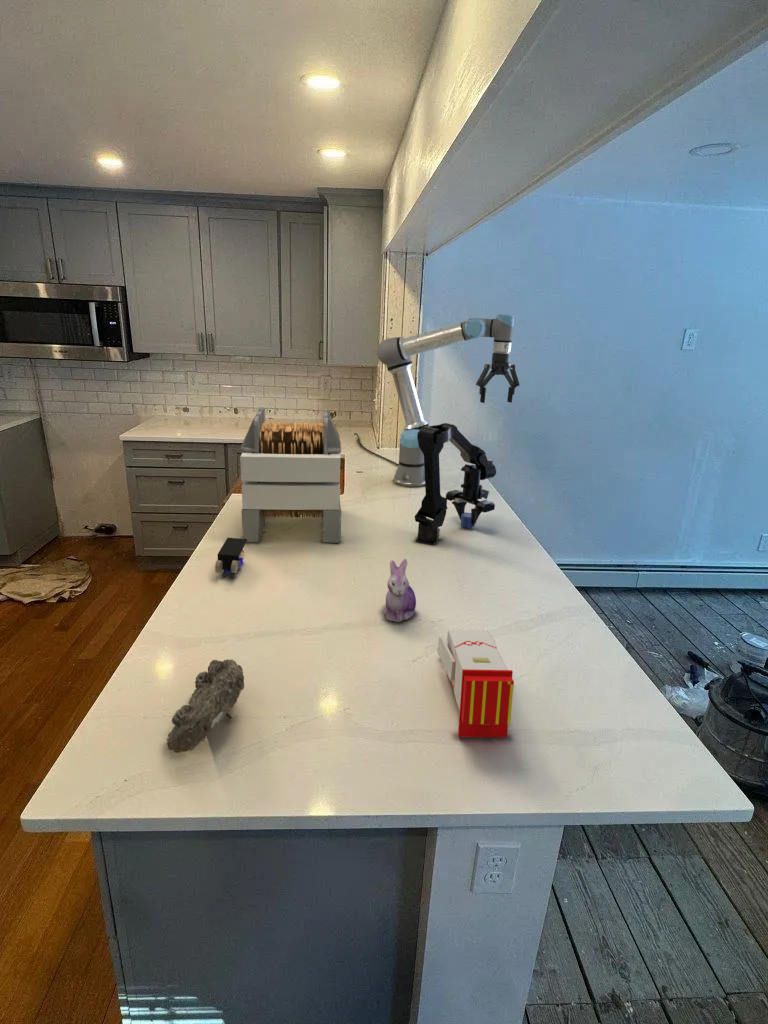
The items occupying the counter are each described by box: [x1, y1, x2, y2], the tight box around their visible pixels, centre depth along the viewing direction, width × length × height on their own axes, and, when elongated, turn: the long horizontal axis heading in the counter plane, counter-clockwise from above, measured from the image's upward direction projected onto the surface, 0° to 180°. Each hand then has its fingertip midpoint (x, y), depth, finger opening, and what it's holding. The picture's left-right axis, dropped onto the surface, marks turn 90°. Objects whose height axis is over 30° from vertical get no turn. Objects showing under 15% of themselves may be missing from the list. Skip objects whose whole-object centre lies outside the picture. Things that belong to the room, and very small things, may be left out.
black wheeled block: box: [214, 537, 248, 578], centre depth 166 cm, size 7×8×15 cm
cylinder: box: [460, 512, 475, 529], centre depth 208 cm, size 5×5×4 cm
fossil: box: [166, 658, 245, 754], centre depth 106 cm, size 22×10×15 cm
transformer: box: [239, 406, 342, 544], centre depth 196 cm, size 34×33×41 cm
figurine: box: [384, 558, 417, 623], centre depth 145 cm, size 9×10×15 cm
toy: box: [437, 628, 515, 738], centre depth 117 cm, size 12×13×30 cm
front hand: (467, 522), depth 208 cm, fingers closed on cylinder, 5 cm apart
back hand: (495, 402), depth 250 cm, fingers open, 13 cm apart
